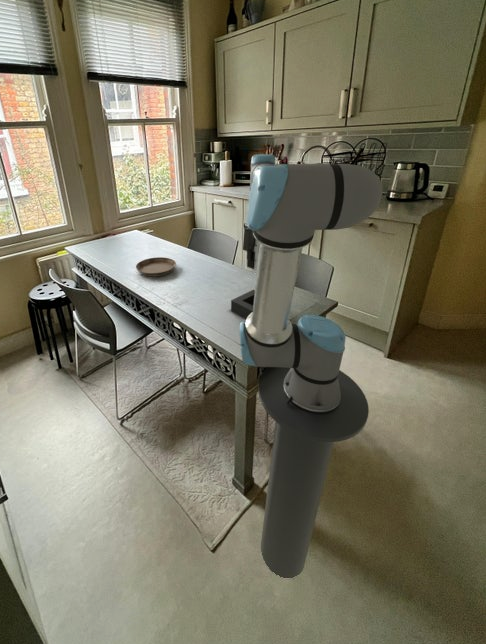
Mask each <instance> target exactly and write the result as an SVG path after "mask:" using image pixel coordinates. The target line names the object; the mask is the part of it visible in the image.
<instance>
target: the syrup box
mask: <svg viewBox="0 0 486 644" xmlns="http://www.w3.org/2000/svg"><path fill="white" fill-rule="evenodd" d="M259 245H260V242H258V241H257V240H256V239H255V247H254V251H255V261H254V269H252V268H249V267H247V251H245V270H246V271H249V272H251V273H254V274H256V275H257V265H258V255H259Z"/></svg>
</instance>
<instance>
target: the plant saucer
mask: <svg viewBox="0 0 486 644" xmlns="http://www.w3.org/2000/svg"><path fill="white" fill-rule="evenodd" d="M176 266H177V263H176V261H175V260H174V259H172V258H169V257H161V256H159V257H150V258H146V259H143V260H141V261H138V262H137V263H136V265H135V269H136V270H137V271H138V273H140V274H142V275H143V276H146V277H160V276H165V275H168V274H169V273H171V272H172V271H173V270H174V269H175V267H176Z"/></svg>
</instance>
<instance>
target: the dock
mask: <svg viewBox="0 0 486 644" xmlns="http://www.w3.org/2000/svg"><path fill="white" fill-rule="evenodd" d="M254 294H255V289H251V290H250V291H247V292H246V293H243V294H241V295H239V296H237V297H235V298H233V299H231V301H230V312H232V313H234V314H236V315H237V316H240V317H241V318H243V319H245V320H246V319H247V317H248V316H249V315H250V314H251V313H252V312H253V304H254Z"/></svg>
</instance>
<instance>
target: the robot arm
mask: <svg viewBox="0 0 486 644" xmlns="http://www.w3.org/2000/svg"><path fill="white" fill-rule="evenodd" d="M249 179H250V180H249V181H250V182H249V196H248V200H247V201H248V202H247V211H246V222H244V223H243V230H244V231H243V240H242V241H243V243H242V250H243V251H245V252H246V251H247V267H249V268H252V269H254V261H255V251H254V247H255V239H256V240H257V241H258V242H260V245H259V255H258V265H257V274H256V275H255V286H254V290H255V294H254V304H253V312H252V313H251V314H250V315H249V316H248V317H247V319H245V320H243V321H240V323H239V342H240V354H241V361H242V362H243V363H244V364H245V365H246V366H250V367H251V366H252V367H256V368H260V367H264V368H267V367H284V368H291V369H290V370H289V372H288V373H287V375H286V377H285V379H284V384H283V390H284V393H285V395H286V397H287V401H286V403H287V404H289V403H290V402H291V403H292V404H293V405H295V406H296V407H298V408H299V409H301V410H303V411H306V412H309V413H314V414H327V413H330V412H332V411H334V410H335V409H337V407H338V406H339V404H340V400H341V391H340V386H339V381H338V373H339V370H340V369H341V364H342V360H343V356H344V352H345V350H346V339H347V337H346V333H345V331H344V329H343V328H342V327H341V326H340V325H339V324H338V323H336V322H335V321H333V320H331V319H329V318H327V317H325V316H321V315H317V314H306V315H304V316H301V317H300V318H299V320H298V321H297V323H295V322H294V323H293V322H292V321H291V320H290V319H289V317H290V311H291V307H292V301H293V297H294V291H295V288H296V283H297V278H298V272H299V268H300V264H301V263H300V262H301V258H302V253H303V248H306V247H307V246H309V245H310V244H311V243H312V242H313V240H314V236H315V231H336V230H344V229H349V228H351V227H354V226H358V225H359V224H361V223H363V222H364V221H366V220H368V218H370V217H371V216H372V215H373V214H374V213H375V211H376V210H377V209H378V207H379V206H380V204H381V201H382V197H383V185H382V182H381V180H380V178H379V177H378V175H377V174H376V173H375V172H374V171H373V170H371V169H370V168H367V167H364V166H361V165H356V164H349V163H333V164H332V163H331V164H330V163H323V162H317V163H281V164H280V163H276V157H275V155H274V154H270V153H268V154H267V153H266V154H265V153H264V154H263V153H262V154H261V153H259V154H254V155H252V157H251V161H250V178H249Z"/></svg>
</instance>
